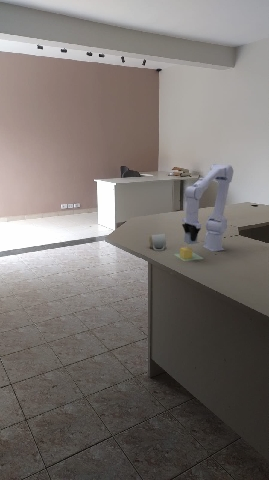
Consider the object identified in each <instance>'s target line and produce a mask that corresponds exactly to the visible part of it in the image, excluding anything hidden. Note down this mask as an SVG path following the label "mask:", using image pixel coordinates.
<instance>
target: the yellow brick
mask: <svg viewBox="0 0 269 480" xmlns="http://www.w3.org/2000/svg"><path fill="white" fill-rule="evenodd" d="M193 250H194V249H193V248H190V247H189V246H185V247H183V246H182V247H180V248H179V254H180V257H181V258H183V259H191V258H192V252H193V253H194V251H193Z"/></svg>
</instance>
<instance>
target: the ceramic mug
mask: <svg viewBox="0 0 269 480" xmlns="http://www.w3.org/2000/svg"><path fill="white" fill-rule="evenodd" d="M148 239H149V240H148V241H149V247H150V248H151V249H153V250H154V252H155V251H156V252H163V251H164V250H165V249H166V248H167V238H166V234H165V233H161V234H160V233H159V234H151V235H149V238H148Z"/></svg>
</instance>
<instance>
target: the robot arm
mask: <svg viewBox="0 0 269 480" xmlns="http://www.w3.org/2000/svg"><path fill="white" fill-rule="evenodd" d="M233 168H234V167H233V166H232V165H230V164H228V165H226V164H216V163H215V164H212V165H211V167H210V169H209V172H208V173H207V174H206V175H205V176H204V177H199V178H198V180H196V181H195V183H193V184H192V185H189V186H188V187H186V188H185V190H184V193H183V194H184V198H185V202H186V208H185V209H186V210H185V217H182V223H181V226H182V228H183V231H184V234H185V233H189V232H190V234H191V241H196V238H197V239H198V237H197V235H199V232H200V231H201V229H202V223H200V221H199V206H200V199H201V198H202V196H203V194H204V192H205V191H206V190H208V188H209V187H210V183H212V182H213V180H215V181H216V182H218V187H217V193H216V199H215V203H214V208H213V213H212V214H210V215H209V216H208V218H207V220H206V223H205V229H206V233H205V236H204V245H202V246H203V248H205V249H207V250H209V251H212V252H218V251H220V252H221V251H225V250H226V249H225V248H224V247H223V246H222V245H223V235H224V234H225V233H226V232H227V229H228V225H227V224H228V219H227V218H226V217H225V215H224V214H225V213H224V212H225V207H226V202H227V197H228V193H229V188H230V184H231V183H232V180H233V175H234V169H233Z"/></svg>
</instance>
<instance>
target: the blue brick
mask: <svg viewBox="0 0 269 480" xmlns="http://www.w3.org/2000/svg"><path fill="white" fill-rule="evenodd" d="M198 235H199V234H198ZM198 235H197V238H196V241H191V234H190V232H189V233H185V232H184V243H185V244H187V245H195V244H198Z"/></svg>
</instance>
